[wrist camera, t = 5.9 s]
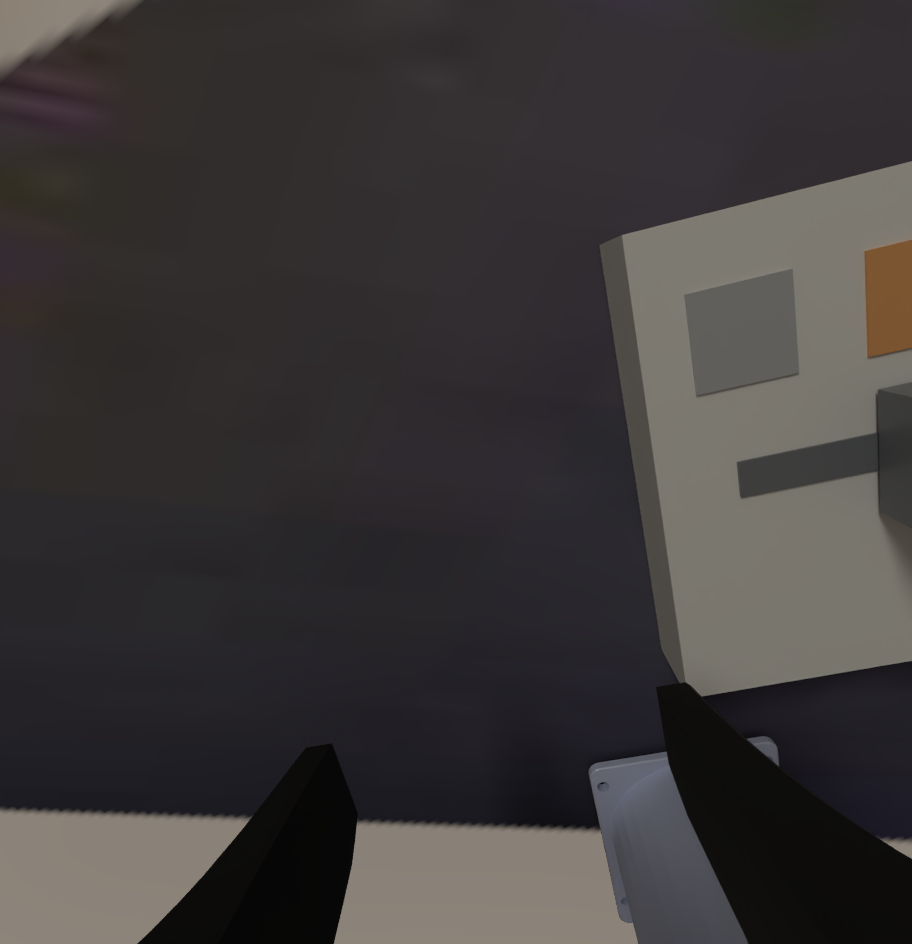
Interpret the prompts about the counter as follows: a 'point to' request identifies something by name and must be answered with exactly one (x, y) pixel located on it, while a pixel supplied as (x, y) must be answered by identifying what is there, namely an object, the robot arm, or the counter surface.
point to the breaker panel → (769, 428)
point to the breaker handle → (896, 452)
